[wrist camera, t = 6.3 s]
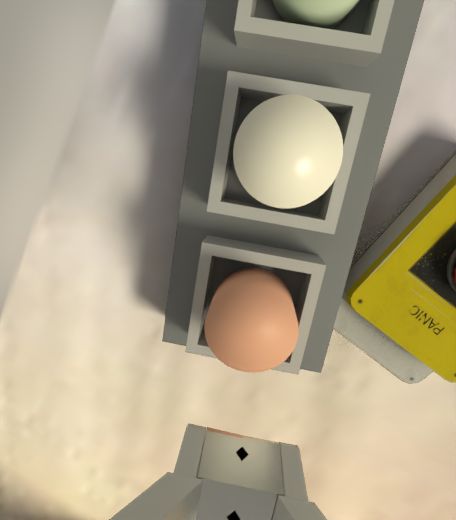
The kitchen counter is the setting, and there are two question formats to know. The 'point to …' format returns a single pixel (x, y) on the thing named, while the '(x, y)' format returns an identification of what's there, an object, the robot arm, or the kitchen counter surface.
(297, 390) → the kitchen counter surface
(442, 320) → the emergency button
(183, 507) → the robot arm
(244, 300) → the brown egg
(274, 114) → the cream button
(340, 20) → the pale green egg
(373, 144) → the panel
